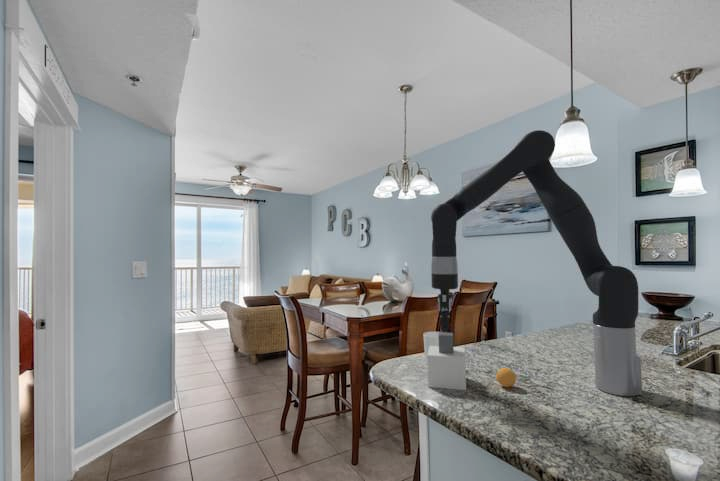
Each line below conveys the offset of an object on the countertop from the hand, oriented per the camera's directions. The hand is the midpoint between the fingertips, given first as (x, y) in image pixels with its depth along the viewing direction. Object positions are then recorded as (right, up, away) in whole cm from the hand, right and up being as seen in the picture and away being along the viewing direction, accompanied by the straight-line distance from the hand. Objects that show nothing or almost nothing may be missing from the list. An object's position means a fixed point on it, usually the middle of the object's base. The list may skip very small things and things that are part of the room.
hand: (445, 327), depth 100 cm
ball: (+16, -13, -5) cm, 21 cm away
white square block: (0, -16, -1) cm, 16 cm away
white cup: (+1, -17, +16) cm, 23 cm away
